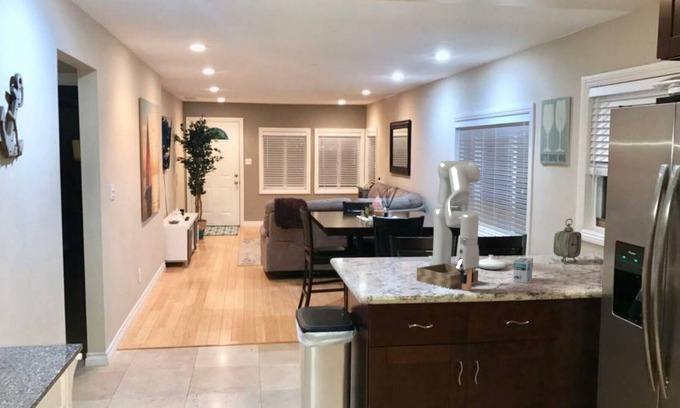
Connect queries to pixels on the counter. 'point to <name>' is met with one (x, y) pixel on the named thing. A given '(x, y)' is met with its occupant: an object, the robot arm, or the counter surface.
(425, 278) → the bore box
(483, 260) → the vase
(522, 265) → the light bulb box
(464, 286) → the peg
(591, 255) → the counter surface
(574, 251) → the tabletop clock
